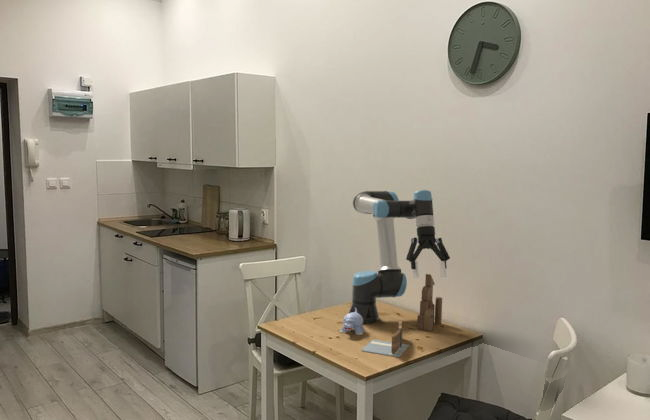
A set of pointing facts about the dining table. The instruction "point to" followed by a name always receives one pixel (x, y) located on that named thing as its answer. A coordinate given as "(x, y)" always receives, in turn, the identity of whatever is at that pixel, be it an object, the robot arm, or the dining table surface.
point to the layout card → (383, 348)
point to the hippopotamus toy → (353, 323)
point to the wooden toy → (429, 307)
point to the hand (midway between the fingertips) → (430, 277)
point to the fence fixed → (396, 341)
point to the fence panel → (400, 324)
